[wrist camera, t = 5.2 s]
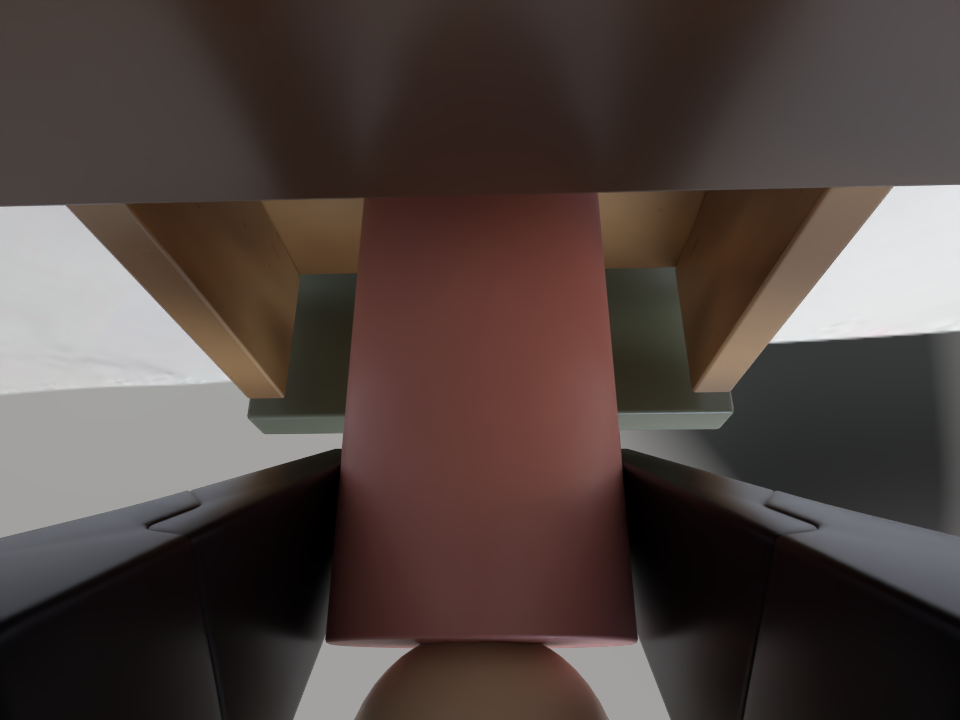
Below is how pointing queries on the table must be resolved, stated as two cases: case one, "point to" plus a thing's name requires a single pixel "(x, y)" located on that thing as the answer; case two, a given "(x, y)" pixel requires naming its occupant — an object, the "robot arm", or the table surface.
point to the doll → (481, 459)
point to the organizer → (471, 97)
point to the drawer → (628, 270)
